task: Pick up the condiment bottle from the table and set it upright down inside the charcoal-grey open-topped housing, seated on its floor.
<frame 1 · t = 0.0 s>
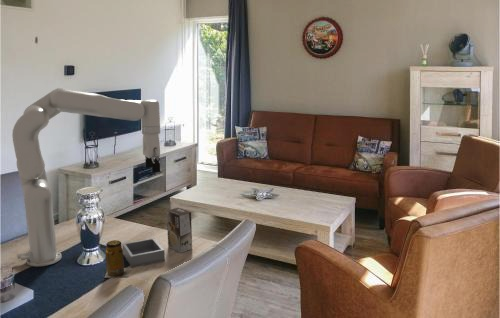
hand: (152, 169, 195), 31 cm above the table, tool pointing down, fingers open, 9 cm apart
coffee box: (180, 248, 193), on the table
condiment: (118, 273, 170), on the table
housing: (143, 257, 183), on the table
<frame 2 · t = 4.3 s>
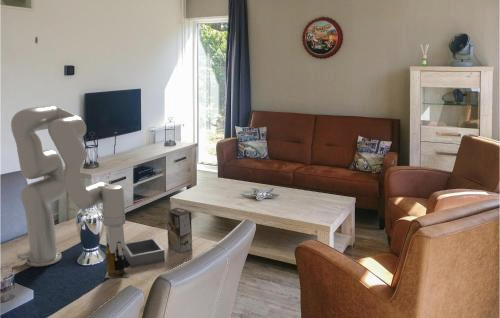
hand: (117, 265, 170), 3 cm above the table, tool pointing down, fingers closed on condiment, 6 cm apart
condiment: (118, 273, 170), on the table, touching gripper
everything else where it was.
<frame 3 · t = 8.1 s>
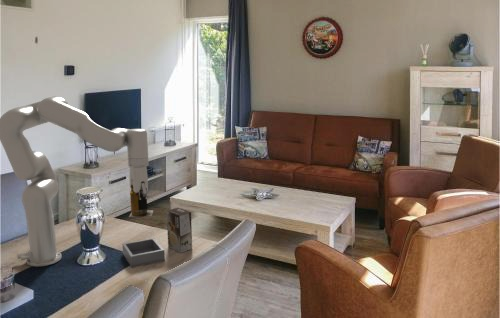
hand: (140, 206, 179), 21 cm above the table, tool pointing down, fingers closed on condiment, 6 cm apart
condiment: (141, 214, 179), point 18 cm above the table, touching gripper
everything else where it was.
when the fingers open (5 cm above the table, at t = 11.8 s): condiment drops 1 cm, resting on housing.
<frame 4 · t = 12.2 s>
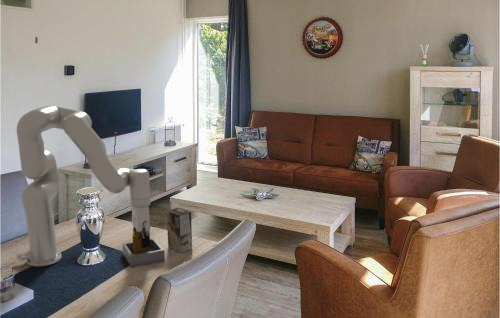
hand: (142, 242, 182), 6 cm above the table, tool pointing down, fingers open, 9 cm apart
condiment: (143, 255, 183), point 1 cm above the table, touching housing
everything else where it was.
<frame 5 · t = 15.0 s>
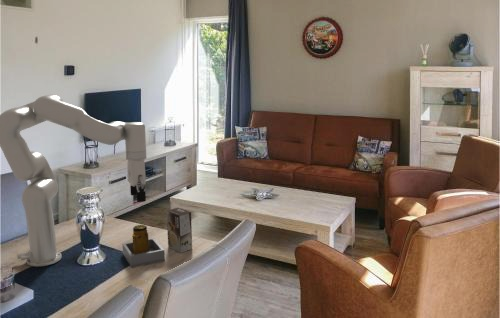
hand: (138, 198, 179), 24 cm above the table, tool pointing down, fingers open, 9 cm apart
nothing on the table moved.
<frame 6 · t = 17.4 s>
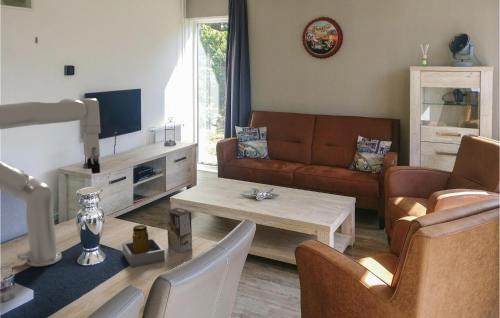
hand: (93, 170, 190), 32 cm above the table, tool pointing down, fingers open, 9 cm apart
nothing on the table moved.
at the end: condiment 0.5 cm off-centre on the housing, point 0.8 cm above the housing's base; condiment tilted 0°; the gripper is holding nothing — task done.
